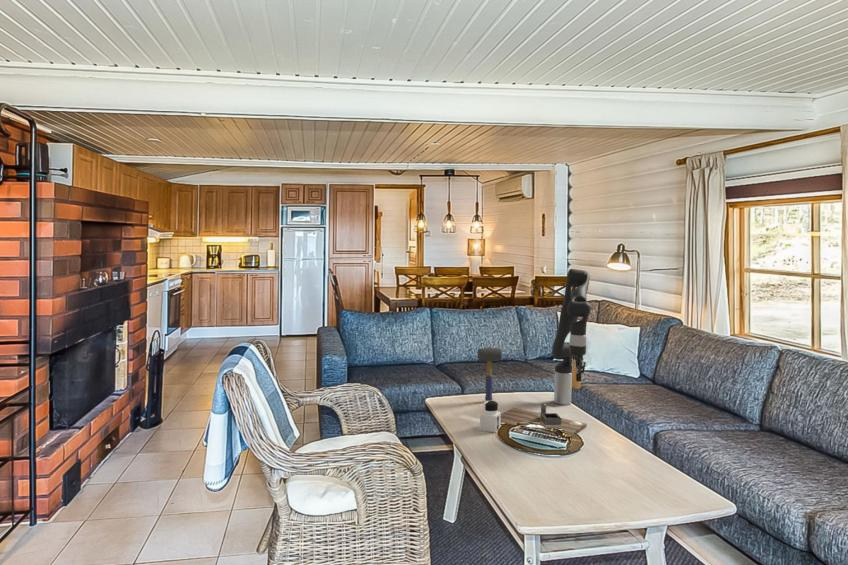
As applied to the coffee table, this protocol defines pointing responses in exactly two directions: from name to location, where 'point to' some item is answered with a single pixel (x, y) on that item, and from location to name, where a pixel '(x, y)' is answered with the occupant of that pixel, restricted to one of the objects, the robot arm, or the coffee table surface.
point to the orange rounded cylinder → (575, 383)
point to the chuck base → (521, 415)
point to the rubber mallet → (489, 366)
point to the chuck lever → (549, 418)
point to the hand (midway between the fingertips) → (576, 379)
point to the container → (490, 417)
